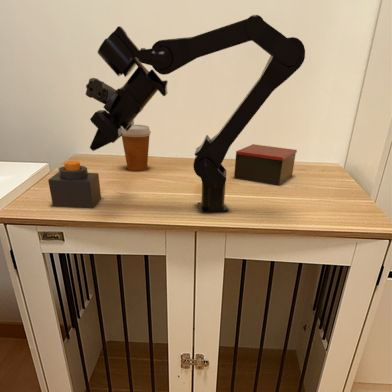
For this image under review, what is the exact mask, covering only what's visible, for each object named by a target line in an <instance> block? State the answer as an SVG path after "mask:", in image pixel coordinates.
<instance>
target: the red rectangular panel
mask: <svg viewBox="0 0 392 392" xmlns="http://www.w3.org/2000/svg"><path fill="white" fill-rule="evenodd" d="M297 151H298V150H297V149H294V148H293V149H292V148H286V147H279V146H278V147H277V146H269V145H262V144H250V145H247V146H246V147H243V148H241V149H238V150H236V151H235V155H236V154H239V155H246V156H253V157H261V158H268V159H275V160H282V161H283V160H284V159H286V158H288V157H290V156H291V155H293V154H295V153H296V154H297ZM296 154H295V155H296Z"/></svg>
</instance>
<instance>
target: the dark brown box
mask: <svg viewBox="0 0 392 392" xmlns="http://www.w3.org/2000/svg"><path fill="white" fill-rule="evenodd" d="M296 154H297V152H296V153H295V154H293V155H291V156H290V157H288V158H286V159H284V160H283V161H282V160H275V159H268V158H261V157H253V156H246V155H239V154H236V153H235V160H234V161H235V163H234V173H233V174H234V175H233V178H234V179H237V180H242V181H243V180H244V181H249V182H256V183H262V184H268V185H274V186H280V185H282V184H284V182H286V181H288V180H289V179H291V177H293V172H294V166H295V161H296Z"/></svg>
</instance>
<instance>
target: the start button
mask: <svg viewBox="0 0 392 392" xmlns="http://www.w3.org/2000/svg"><path fill="white" fill-rule="evenodd" d="M63 164H64V165H63V166H65V170H67V171H76V170H81V168H80V166H81V162H80V161H78V160H66V161H64V163H63Z"/></svg>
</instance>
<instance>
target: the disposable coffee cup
mask: <svg viewBox="0 0 392 392" xmlns="http://www.w3.org/2000/svg"><path fill="white" fill-rule="evenodd" d="M121 128H122V133H123V135H122V136H121V139H122V146H123V152H124V157H125V163H126V167H127V170H129V171H133V172H141V171H146V170H148V162H149V161H148V160H149V150H150V149H149V147H150V136H151V133H152V131H151V130H150V126H148V125H145V124H133V125H132V127H131V128H130V129H129V130H128V131H126V130H125V129H124V128H123V127H122V126H121Z"/></svg>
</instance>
